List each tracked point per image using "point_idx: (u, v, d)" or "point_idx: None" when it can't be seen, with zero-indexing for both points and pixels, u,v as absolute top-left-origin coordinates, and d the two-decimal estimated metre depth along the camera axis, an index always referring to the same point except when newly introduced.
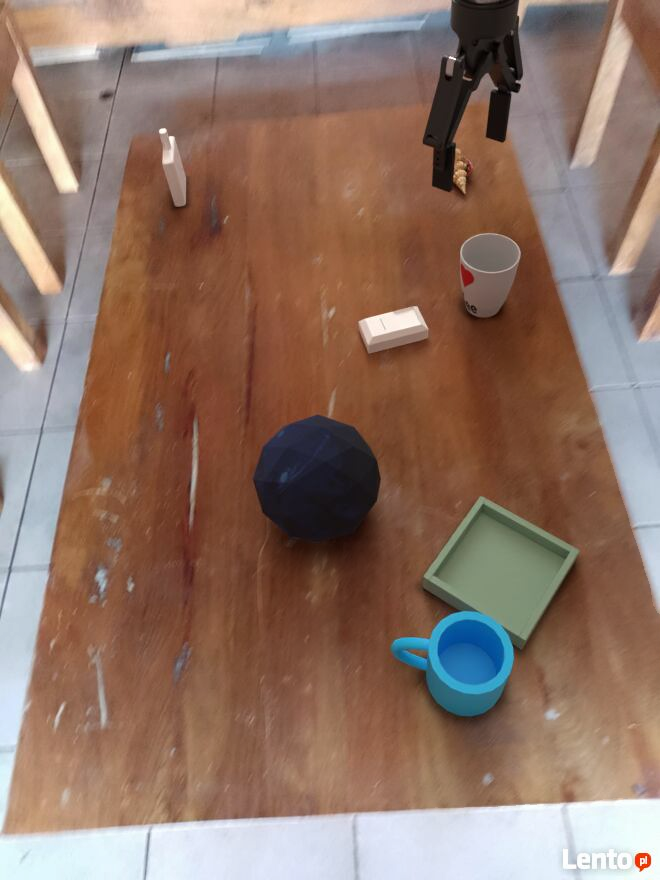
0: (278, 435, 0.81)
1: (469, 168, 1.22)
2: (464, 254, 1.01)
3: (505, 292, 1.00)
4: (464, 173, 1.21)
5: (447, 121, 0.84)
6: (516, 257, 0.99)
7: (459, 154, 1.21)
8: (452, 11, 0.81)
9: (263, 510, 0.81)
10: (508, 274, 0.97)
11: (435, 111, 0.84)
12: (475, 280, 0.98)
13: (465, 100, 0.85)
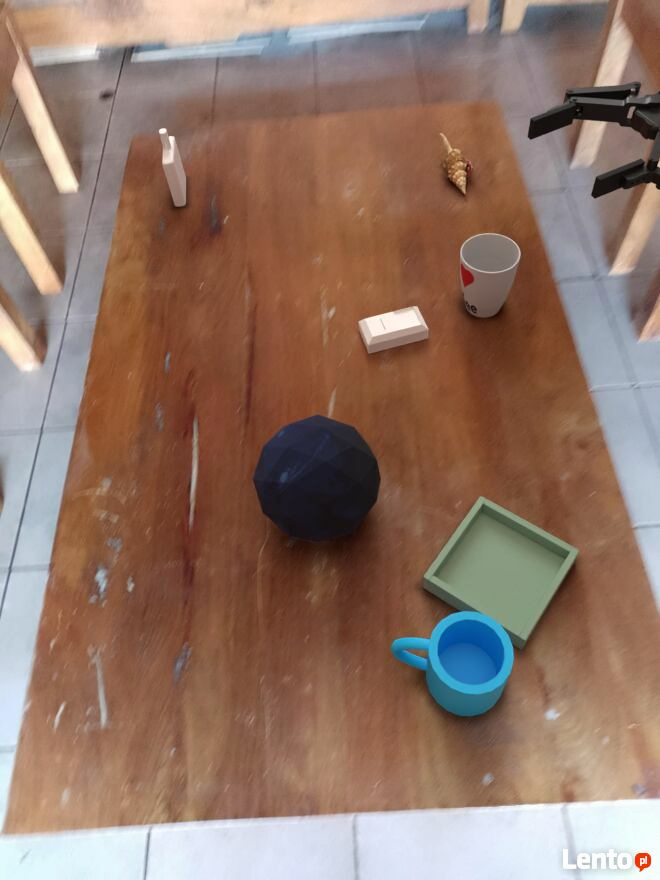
0: (278, 435, 0.81)
1: (469, 168, 1.22)
2: (464, 254, 1.01)
3: (505, 292, 1.00)
4: (464, 173, 1.21)
5: (590, 88, 0.95)
6: (516, 257, 0.99)
7: (459, 154, 1.21)
8: None
9: (263, 510, 0.81)
10: (508, 274, 0.97)
11: None
12: (475, 280, 0.98)
13: (613, 101, 0.93)
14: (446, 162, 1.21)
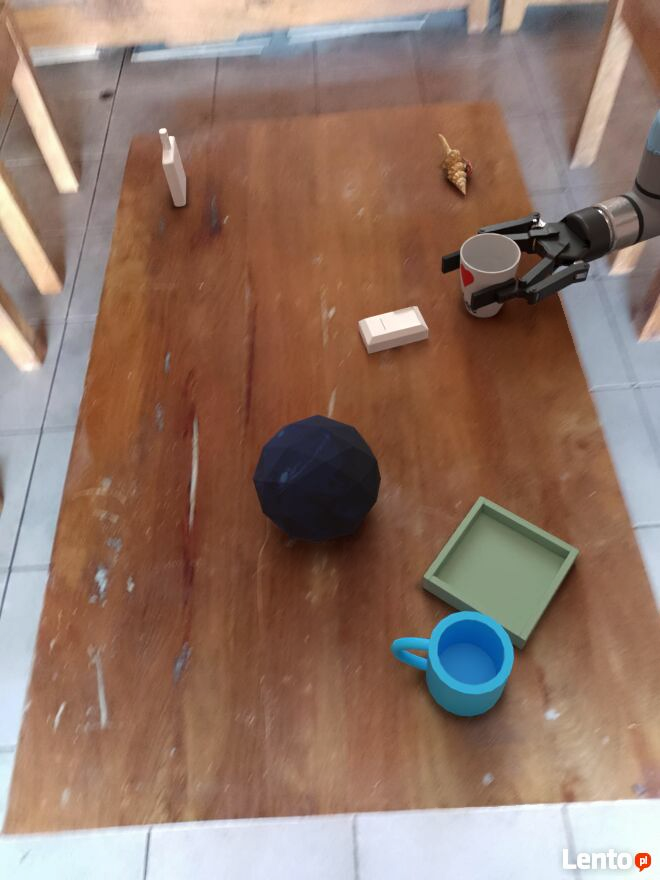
0: (278, 435, 0.81)
1: (469, 169, 1.22)
2: (464, 254, 1.01)
3: None
4: (464, 174, 1.21)
5: (498, 224, 1.05)
6: (516, 257, 0.99)
7: (458, 155, 1.21)
8: None
9: (263, 510, 0.81)
10: (508, 274, 0.97)
11: None
12: (475, 280, 0.98)
13: (518, 235, 1.03)
14: (446, 163, 1.21)
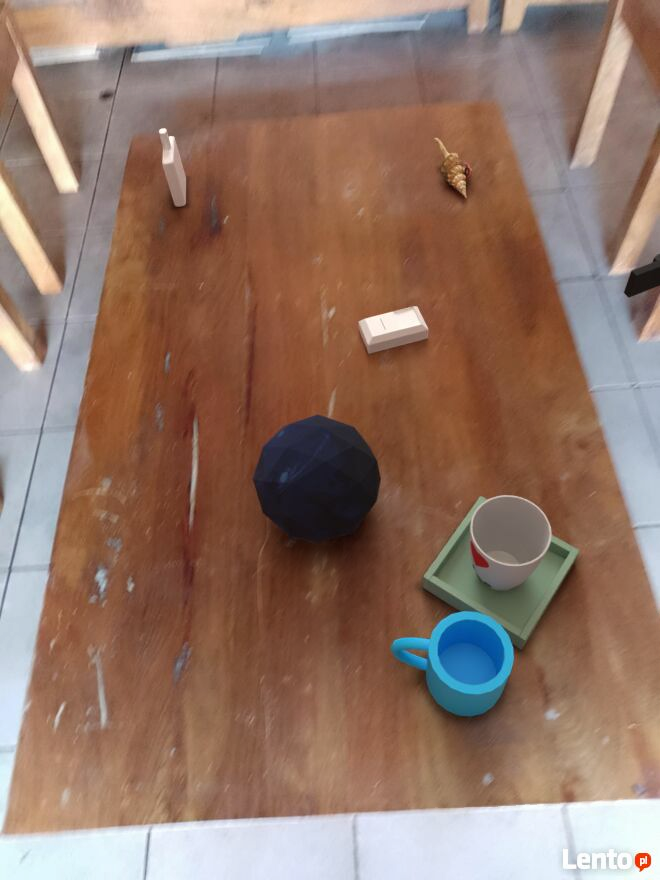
0: (278, 435, 0.81)
1: (468, 171, 1.21)
2: (475, 521, 0.76)
3: (530, 574, 0.75)
4: (463, 177, 1.20)
5: None
6: (545, 532, 0.74)
7: (457, 158, 1.20)
8: None
9: (263, 510, 0.81)
10: (535, 563, 0.72)
11: None
12: (491, 567, 0.73)
13: None
14: (445, 167, 1.21)
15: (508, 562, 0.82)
